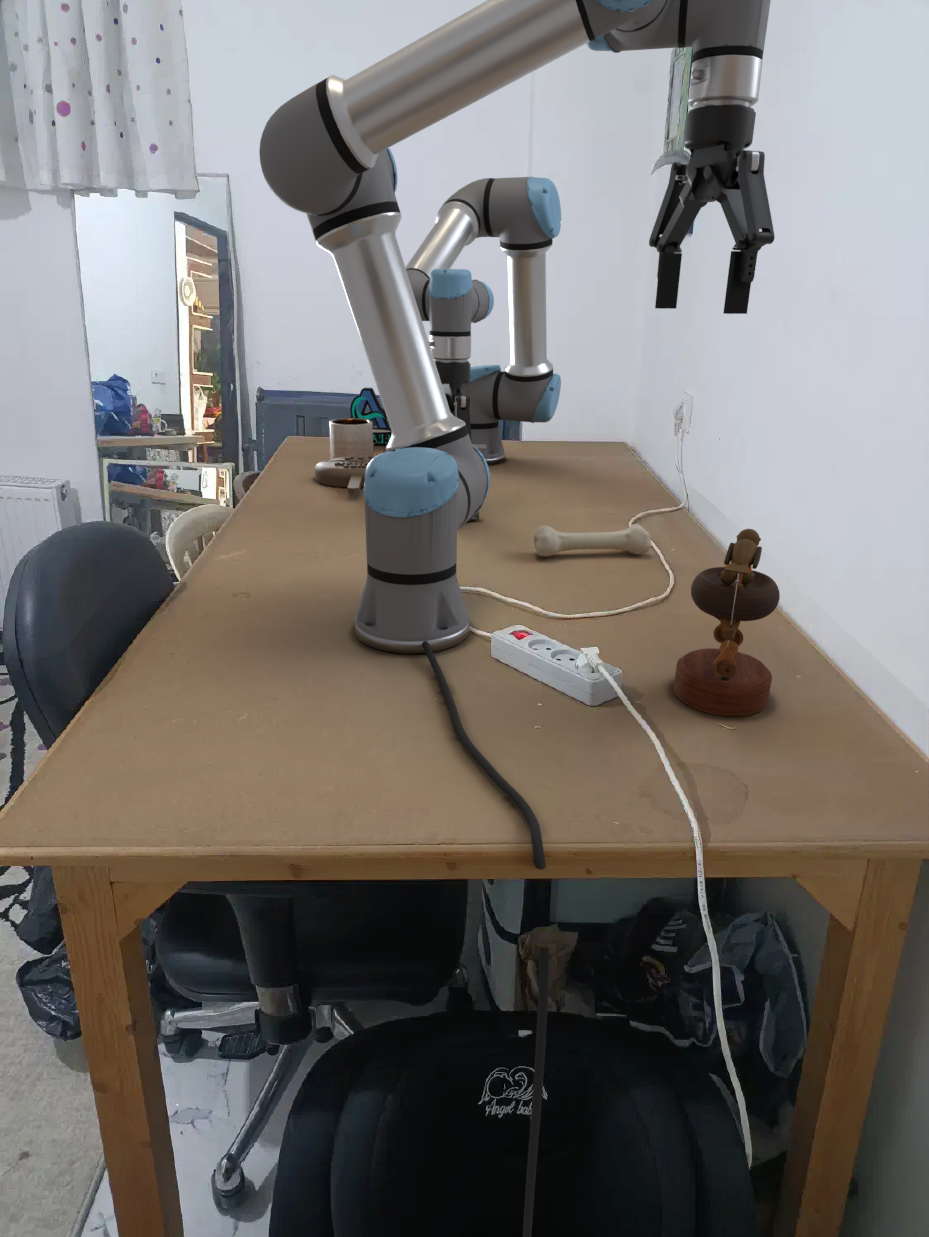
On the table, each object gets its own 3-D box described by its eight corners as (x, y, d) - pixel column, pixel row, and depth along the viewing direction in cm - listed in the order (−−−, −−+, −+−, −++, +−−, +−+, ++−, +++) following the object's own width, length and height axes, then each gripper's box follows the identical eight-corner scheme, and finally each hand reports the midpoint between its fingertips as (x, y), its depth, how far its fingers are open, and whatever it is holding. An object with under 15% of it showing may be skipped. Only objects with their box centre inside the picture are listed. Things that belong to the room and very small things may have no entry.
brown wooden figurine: (786, 726, 90) (801, 547, 83) (681, 727, 92) (686, 551, 84) (757, 665, 104) (767, 507, 97) (666, 666, 106) (669, 511, 98)
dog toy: (640, 546, 149) (643, 519, 147) (652, 557, 144) (655, 529, 142) (529, 550, 146) (530, 522, 144) (537, 561, 141) (539, 532, 139)
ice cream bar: (302, 500, 176) (301, 480, 174) (318, 470, 201) (317, 453, 200) (404, 500, 177) (404, 480, 175) (406, 471, 202) (406, 453, 201)
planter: (327, 456, 217) (325, 418, 214) (369, 454, 220) (368, 417, 217) (334, 465, 208) (332, 425, 204) (377, 463, 211) (376, 424, 207)
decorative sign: (402, 443, 235) (401, 388, 229) (401, 445, 232) (400, 389, 227) (334, 442, 236) (332, 386, 230) (333, 443, 233) (330, 387, 228)
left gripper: (631, 122, 103) (616, 306, 111) (771, 84, 82) (741, 316, 90) (682, 126, 106) (664, 306, 114) (831, 91, 85) (796, 316, 93)
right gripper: (411, 355, 162) (412, 471, 171) (452, 367, 144) (451, 496, 152) (447, 354, 165) (446, 468, 173) (493, 365, 146) (489, 493, 155)
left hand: (698, 311), depth 102 cm, fingers open, 13 cm apart
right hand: (449, 481), depth 163 cm, fingers closed on chalk box, 9 cm apart
